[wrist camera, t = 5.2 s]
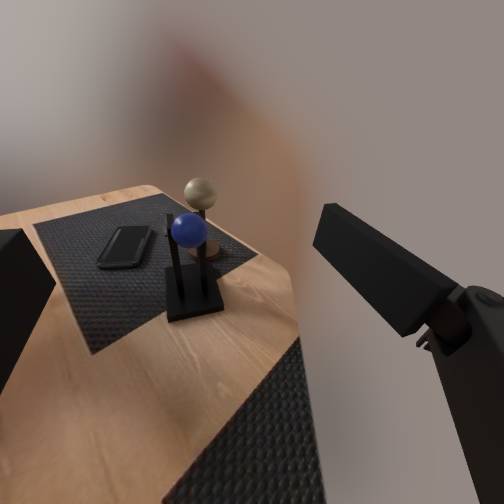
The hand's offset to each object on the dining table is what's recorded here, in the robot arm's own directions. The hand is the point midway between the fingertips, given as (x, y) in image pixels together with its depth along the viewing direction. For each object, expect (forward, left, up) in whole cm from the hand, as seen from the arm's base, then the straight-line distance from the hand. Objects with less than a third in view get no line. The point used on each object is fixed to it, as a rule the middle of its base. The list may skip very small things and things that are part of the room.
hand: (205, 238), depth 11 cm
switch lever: (0, +15, -10) cm, 18 cm away
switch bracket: (0, +21, -24) cm, 32 cm away
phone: (-12, +38, -25) cm, 46 cm away
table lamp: (+4, +32, -24) cm, 40 cm away
